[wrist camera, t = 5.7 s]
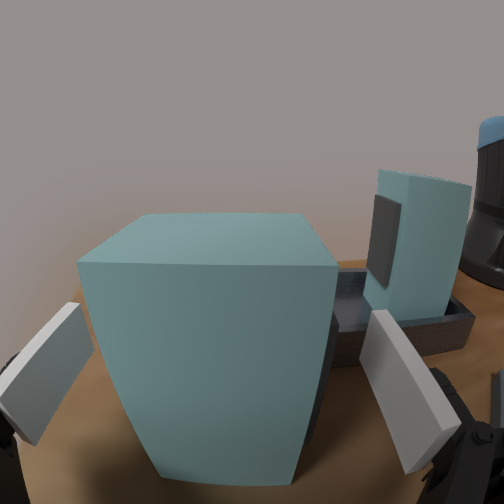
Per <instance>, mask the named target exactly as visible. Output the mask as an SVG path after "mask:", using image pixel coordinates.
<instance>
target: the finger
mask: <svg viewBox="0 0 504 504" xmlns="http://www.w3.org/2000/svg"><path fill="white" fill-rule="evenodd" d="M77 267H78V271H79V276H80V281H81V285H82V289H83V293H84V297H85V301H86V304H87V308H88V312H89V315H90V319H91V322H92V325H93V329H94V332H95V335H96V338H97V341H98V344H99V347H100V350H101V353H102V356H103V358H104V361H105V364H106V366H107V369H108V372H109V374H110V377H111V379H112V382H113V384H114V387H115V389H116V391H117V394H118V396H119V398H120V401H121V403H122V405H123V407H124V409H125V412H126V414H127V416H128V418H129V420H130V422H131V424H132V426H133V428H134V430H135V432H136V434H137V436H138V438H139V440H140V442H141V443H142V445H143V447H144V449H145V451H146V452H147V454H148V456H149V458H150V459H151V461H152V463H153V465H154V466H155V468H156V470H157V471H158V473H159V474H160V476H161V477H162V478H168V479H174V480H180V481H188V482H196V483H205V484H216V485H232V486H282V485H290V484H291V481H292V478H293V475H294V472H295V469H296V466H297V463H298V459H299V456H300V453H301V449H302V446H303V444H310V441H311V438H312V435H313V431H314V428H315V425H316V421H317V418H318V414H319V411H320V407H321V403H322V400H323V396H324V392H325V388H326V384H327V380H328V376H329V372H330V368H331V364H332V359H333V355H334V350H335V345H336V341H337V336H338V331H339V326H340V325H339V323H338V320H337V318H336V316H335V314H334V311H333V305H334V298H335V291H336V284H337V277H338V269H339V265H338V263H337V262H336V261H335V259H334V258H333V256H332V255H331V253H330V252H329V250H328V249H327V248H326V246H325V245H324V243H323V242H322V241H321V239H320V238H319V236H318V235H317V233H316V232H315V231H314V229H313V228H312V227H311V225H310V224H309V222H308V221H307V220H306V218H305V217H304V216H303V214H286V213H169V214H145V215H144V216H142V217H141V218H139V219H137V220H136V221H134V222H133V223H131V224H130V225H128V226H127V227H125V228H124V229H122V230H121V231H119V232H118V233H116V234H115V235H113V236H112V237H110V238H109V239H107V240H106V241H104V242H103V243H102V244H100V245H99V246H97V247H96V248H94V249H93V250H92V251H90V252H89V253H87V254H86V255H85V256H83V257H82V258H80V259H79V260H78V261H77Z"/></svg>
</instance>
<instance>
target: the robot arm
mask: <svg viewBox="0 0 504 504" xmlns="http://www.w3.org/2000/svg"><path fill="white" fill-rule="evenodd" d="M477 151H478V170H477V181H476V190H475V199H474V206H473V212H472V216H471V218H470V220H469V222H468V224H467V227H466V232H465V238H464V243H463V248H462V252H461V257H460V261H459V265H458V267H459V268H460V269H461V270H462V271H464V272H465V273H467V274H468V275H470V276H472V277H473V278H475V279H477V280H479V281H481V282H484V283H486V284H489V285H491V286H494V287H497V288H500V289H504V116H496V117H491V118H488V119H486V120H485V121H483V122H482V124H481V125H480V128H479V143H478V147H477ZM94 350H95V349H94V346H93V343H92V340H91V337H90V334H89V331H88V328H87V325H86V322H85V318H84V315H83V312H82V308H81V305H80V303H72V302H68V303H67V304H66V305H65V306H64V307H63V308H62V309H61V310H60V311H59V312H58V313H57V314H56V315H55V316H54V317H53V318H52V319H51V320H50V321H49V322H48V323H47V324H46V325H45V326H44V327H43V328H42V329H41V330H40V331H39V332H38V333H37V334H36V336H35V337H34V338H33V339H32V340H31V341H30V342H29V343H28V344H27V345H26V346H25V348H24V349H23V350H22V351H21V352H19V353H18V354H16V355H15V356H13V357H12V358H11V359H10V360H9V361H8V362H7V364H6V366H4V367H3V368H2V370H1V372H0V504H31V503H30V500H29V497H28V493H27V490H26V486H25V482H24V478H23V474H22V469H21V464H20V459H19V454H18V448H17V442H16V439H15V437H14V436H13V434H14V433H15V431H16V433H17V434H18V435H19V436H20V438H21V439H22V440H23V441H25V442H27V443H29V444H31V445H33V446H35V447H36V445H37V443H38V441H39V440H40V438H41V436H42V434H43V432H44V431H45V429H46V427H47V425H48V424H49V422H50V420H51V418H52V417H53V415H54V413H55V412H56V410H57V408H58V407H59V405H60V403H61V402H62V400H63V398H64V397H65V395H66V393H67V392H68V390H69V389H70V387H71V385H72V384H73V382H74V381H75V379H76V378H77V376H78V374H79V373H80V371H81V370H82V368H83V367H84V365H85V364H86V362H87V361H88V359H89V358H90V356H91V355H92V353H93V352H94ZM359 360H360V362H361V364H362V367H363V369H364V371H365V373H366V376H367V378H368V380H369V383H370V385H371V387H372V390H373V392H374V395H375V397H376V399H377V402H378V404H379V407H380V409H381V412H382V414H383V417H384V419H385V422H386V424H387V427H388V429H389V432H390V434H391V437H392V440H393V442H394V445H395V448H396V450H397V453H398V456H399V458H400V461H401V464H402V467H403V469H404V472H405V475H406V474H409V473H412V472H415V471H418V470H421V469H424V468H425V467H426V466H427V464H428V463H429V462H430V461H432V463H433V466H434V467H433V468H432V469H431V470H430V471H429V472H428V473H427V474H426V475H425V476H424V477H423V479H422V480H421V481H425V480H426V479H427V478H428V479H427V481H426V483H425V486H424V488H423V490H422V493H421V495H420V497H419V499H418V501H417V504H504V428H497V429H493V428H492V427H491V426H490V425H489V424H487V423H485V422H479V421H477V422H476V421H475V420H474V418H473V417H472V415H471V413H470V412H469V410H468V409H467V407H466V405H465V404H464V402H463V401H462V399H461V398H460V396H459V395H458V394H457V393H456V392H457V391H456V390H455V388H454V387H453V386H451V385H452V384H451V382H450V381H449V379H448V378H447V377H446V375H445V374H444V373H442V372H441V371H440V370H438V369H437V368H436V367H435V368H431V369H428V368H427V366H426V365H425V363H424V362H423V360H422V359H421V357H420V356H419V354H418V353H417V351H416V350H415V348H414V347H413V345H412V344H411V342H410V341H409V340H408V338H407V337H406V335H405V334H404V332H403V331H402V330H401V328H400V327H399V325H398V324H397V323H396V321H395V320H394V319H393V317H392V316H391V314H390V313H389V312H388V310H372V311H371V316H370V320H369V324H368V328H367V332H366V336H365V340H364V343H363V347H362V351H361V354H360V358H359Z"/></svg>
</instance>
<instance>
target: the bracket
mask: <svg viewBox="0 0 504 504" xmlns="http://www.w3.org/2000/svg"><path fill="white" fill-rule="evenodd" d="M490 426H491V427H492V428H493V429H497V428H504V369H501V370H500V371H499V372H498V374H497V376H496V377H495V379H494V381H493V383H492V406H491V425H490Z"/></svg>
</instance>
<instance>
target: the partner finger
mask: <svg viewBox="0 0 504 504" xmlns="http://www.w3.org/2000/svg"><path fill="white" fill-rule="evenodd" d="M471 191H472V186H469V185H465V184H461V183H457V182H454V181H450V180H445V179H441V178H437V177H430V176H425V175H419V174H412V173H404V172H398V171H390V170H382V169H379V176H378V189H377V195H375V200H374V211H373V220H372V230H371V237H370V245H369V252H368V258H367V265H366V267H367V268H368V270H367V276H366V282H365V287H364V293H363V295H364V297H365V298H366V300H367V301H368V303H369V304H370V306H371V307H372V309H373V310H388V312H389V313H390V314H391V316H392V317H393V319H394V320H395V321H402V320H412V319H422V318H430V317H439V316H444V314H445V311H446V308H447V305H448V301H449V298H450V295H451V291H452V288H453V284H454V281H455V277H456V273H457V269H458V265H459V261H460V257H461V252H462V248H463V243H464V238H465V232H466V227H467V221H468V214H469V207H470V199H471Z"/></svg>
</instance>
